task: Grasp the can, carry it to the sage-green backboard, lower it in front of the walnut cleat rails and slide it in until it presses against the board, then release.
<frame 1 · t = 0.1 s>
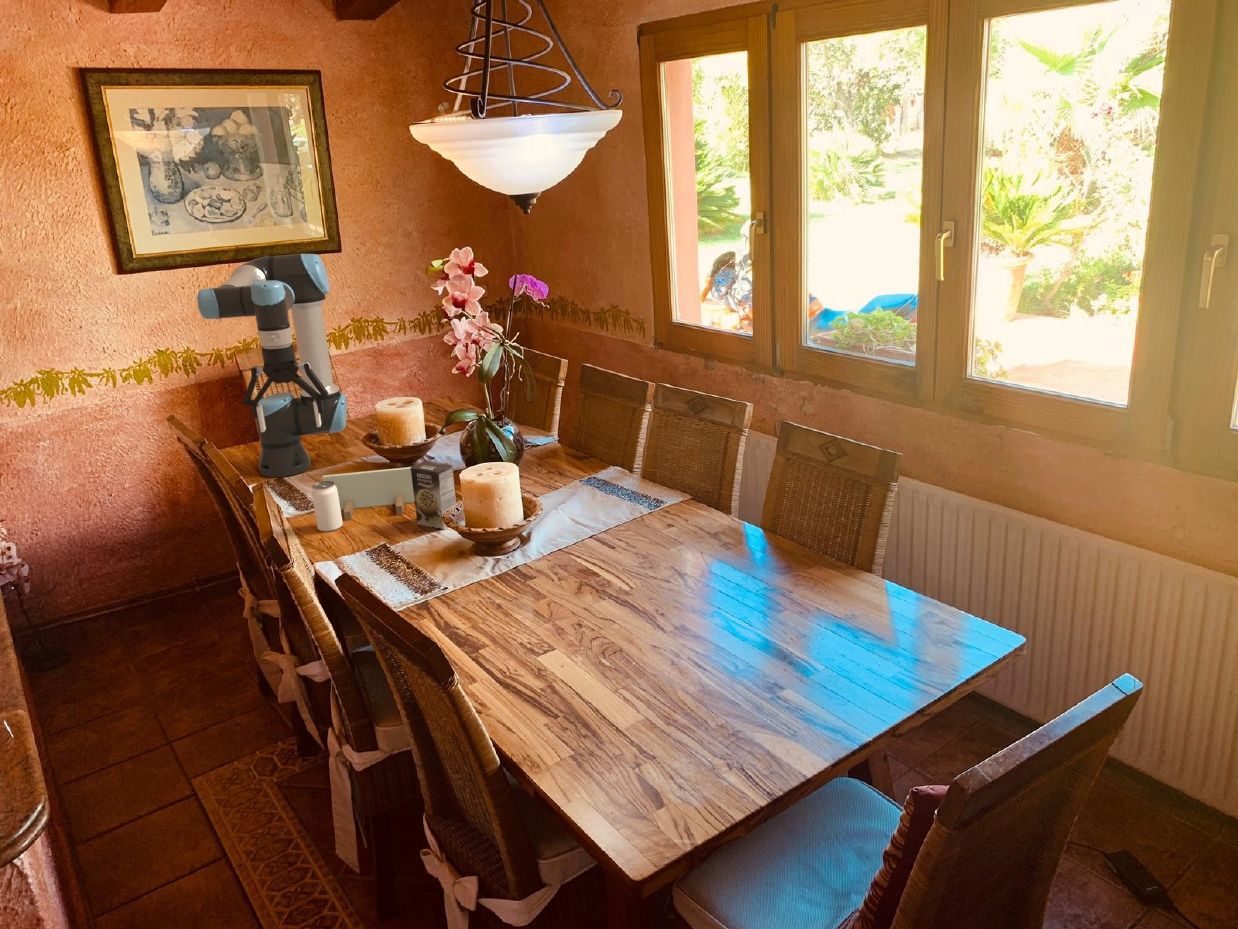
hand: (291, 428, 233), 28 cm above the table, fingers open, 13 cm apart
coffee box: (437, 523, 242), on the table
can: (330, 527, 243), on the table
wall board: (376, 505, 255), on the table
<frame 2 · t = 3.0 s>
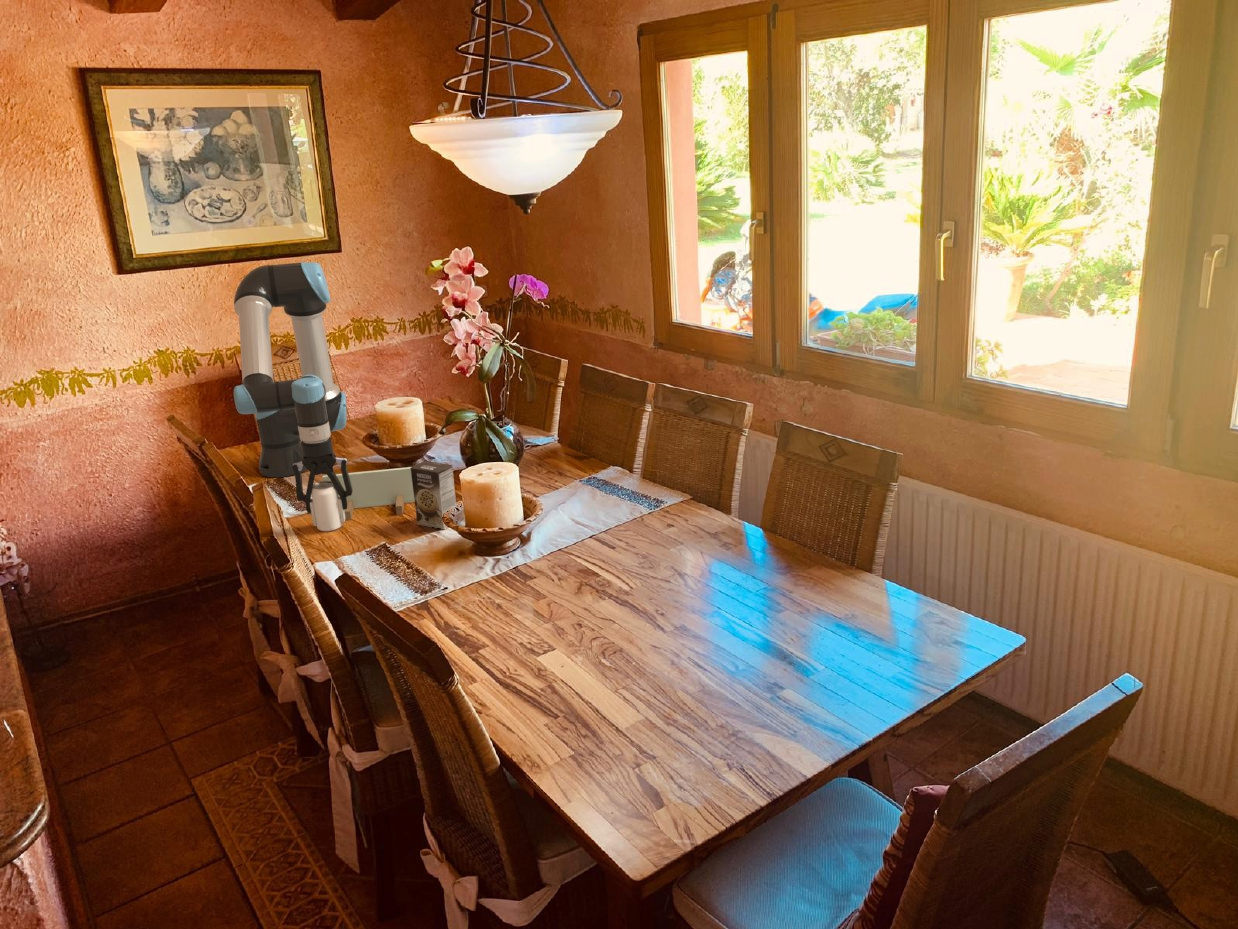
hand: (329, 521, 242), 1 cm above the table, fingers closed on can, 6 cm apart
can: (330, 527, 243), on the table, touching gripper
everything else where it was.
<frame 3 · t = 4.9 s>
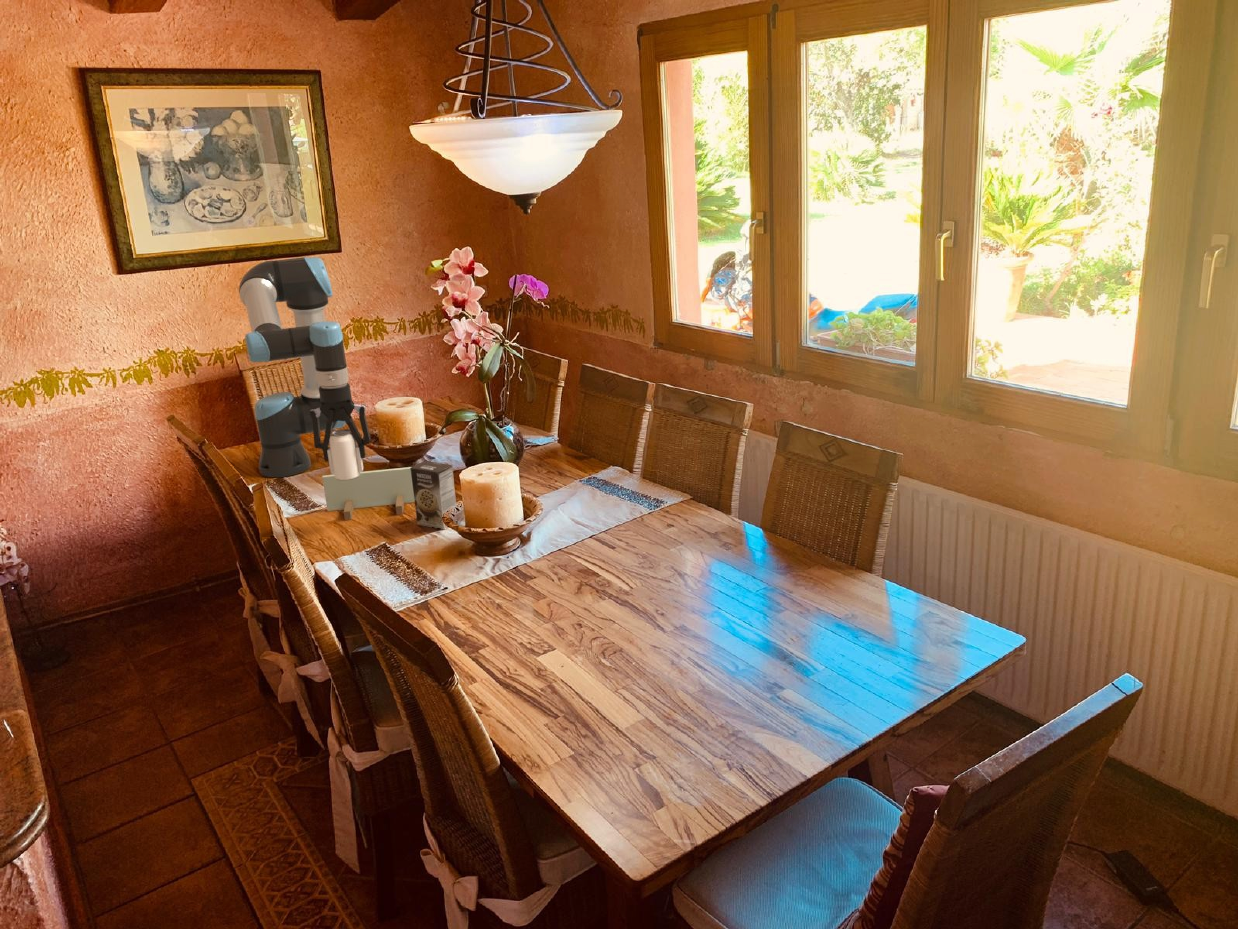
hand: (347, 471, 238), 15 cm above the table, fingers closed on can, 6 cm apart
can: (347, 477, 238), point 14 cm above the table, touching gripper
everything else where it was.
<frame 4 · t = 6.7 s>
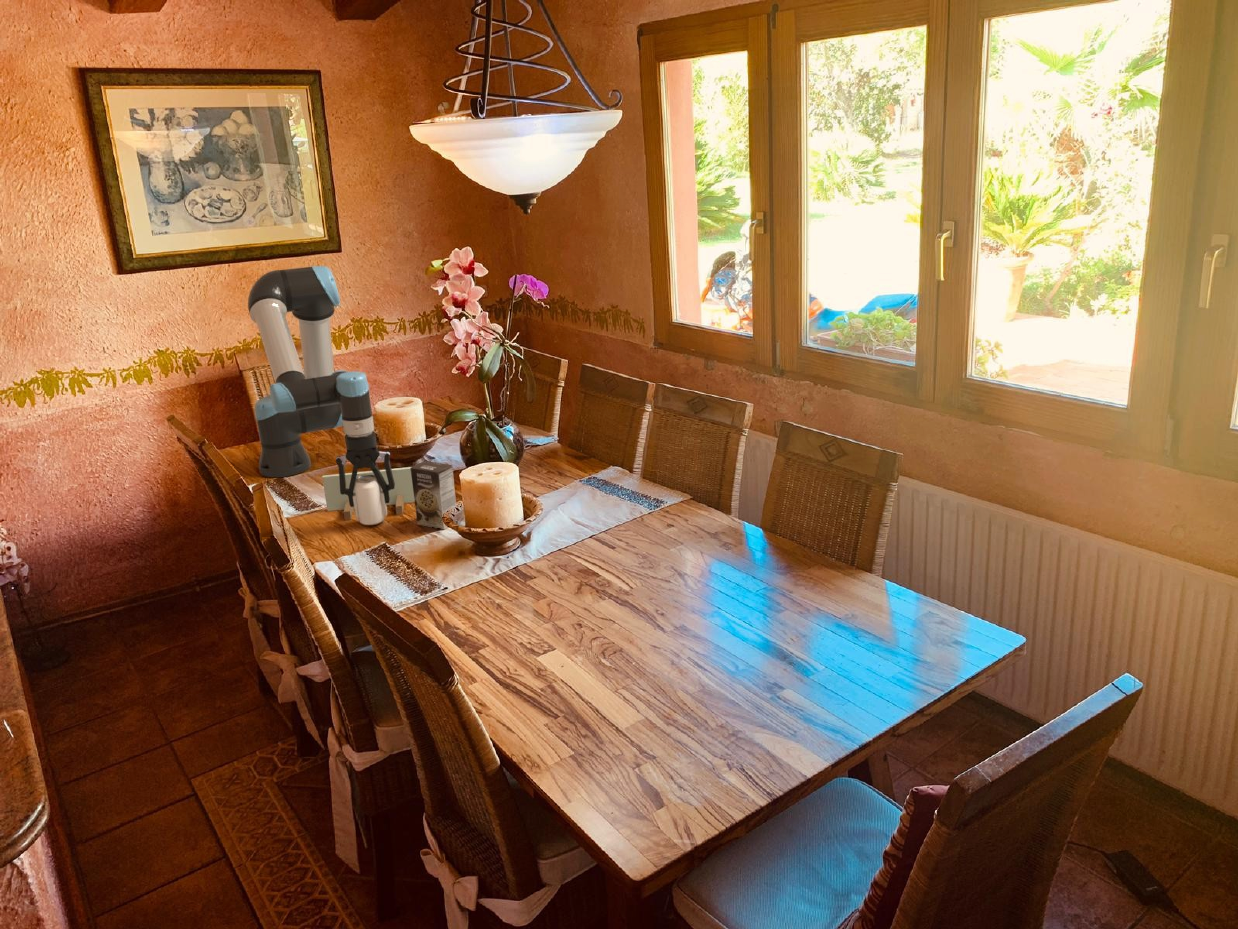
hand: (371, 515, 243), 2 cm above the table, fingers closed on can, 6 cm apart
can: (372, 521, 244), point 1 cm above the table, touching gripper
everything else where it was.
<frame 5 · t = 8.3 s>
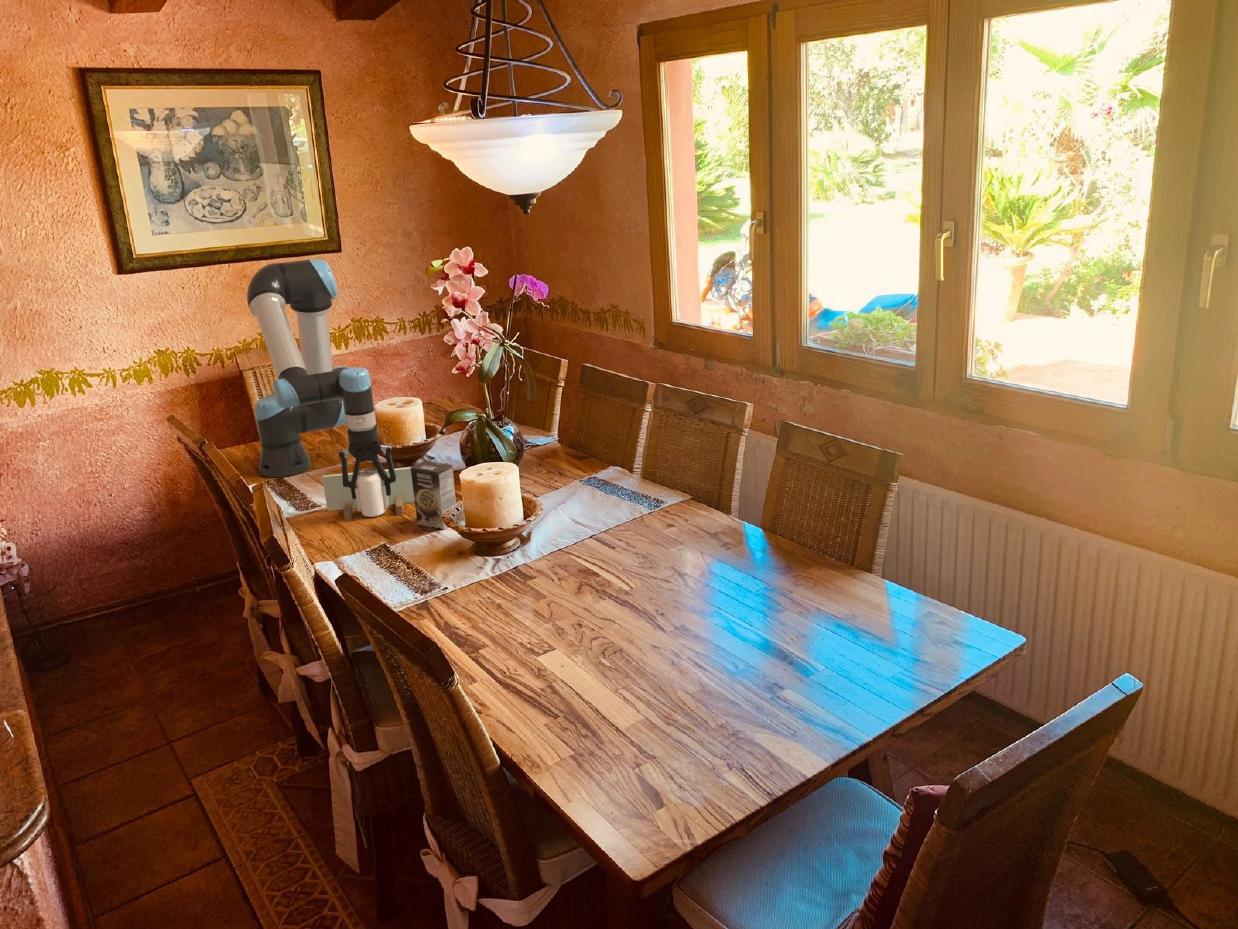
hand: (373, 507, 250), 2 cm above the table, fingers closed on can, 6 cm apart
can: (374, 513, 250), on the table, touching gripper
everything else where it was.
when the fingers open (2 cm above the table, at t = 10.0 s): can stays where it is, on the table.
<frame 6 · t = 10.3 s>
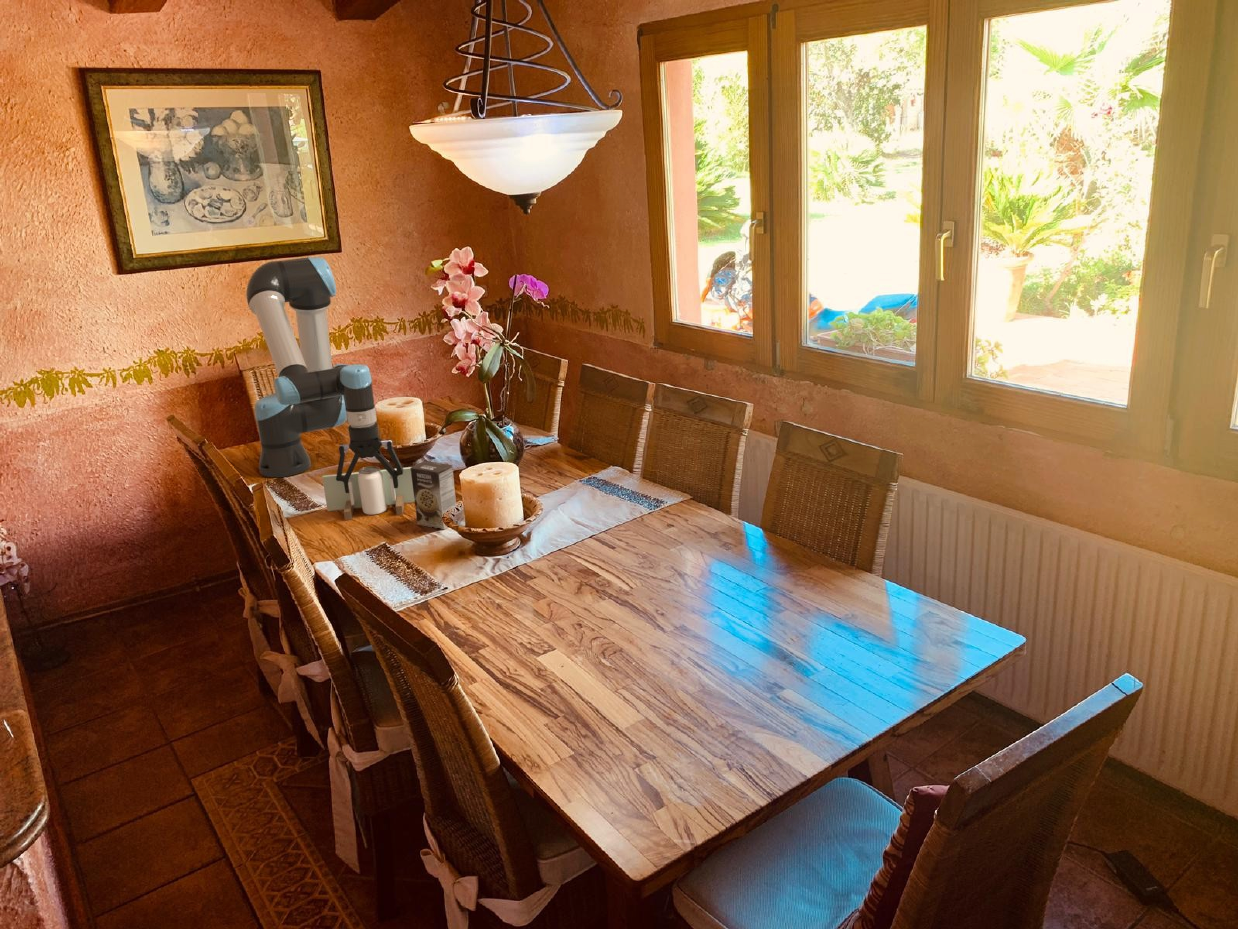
hand: (373, 501, 251), 3 cm above the table, fingers open, 10 cm apart
can: (375, 511, 252), on the table
everything else where it was.
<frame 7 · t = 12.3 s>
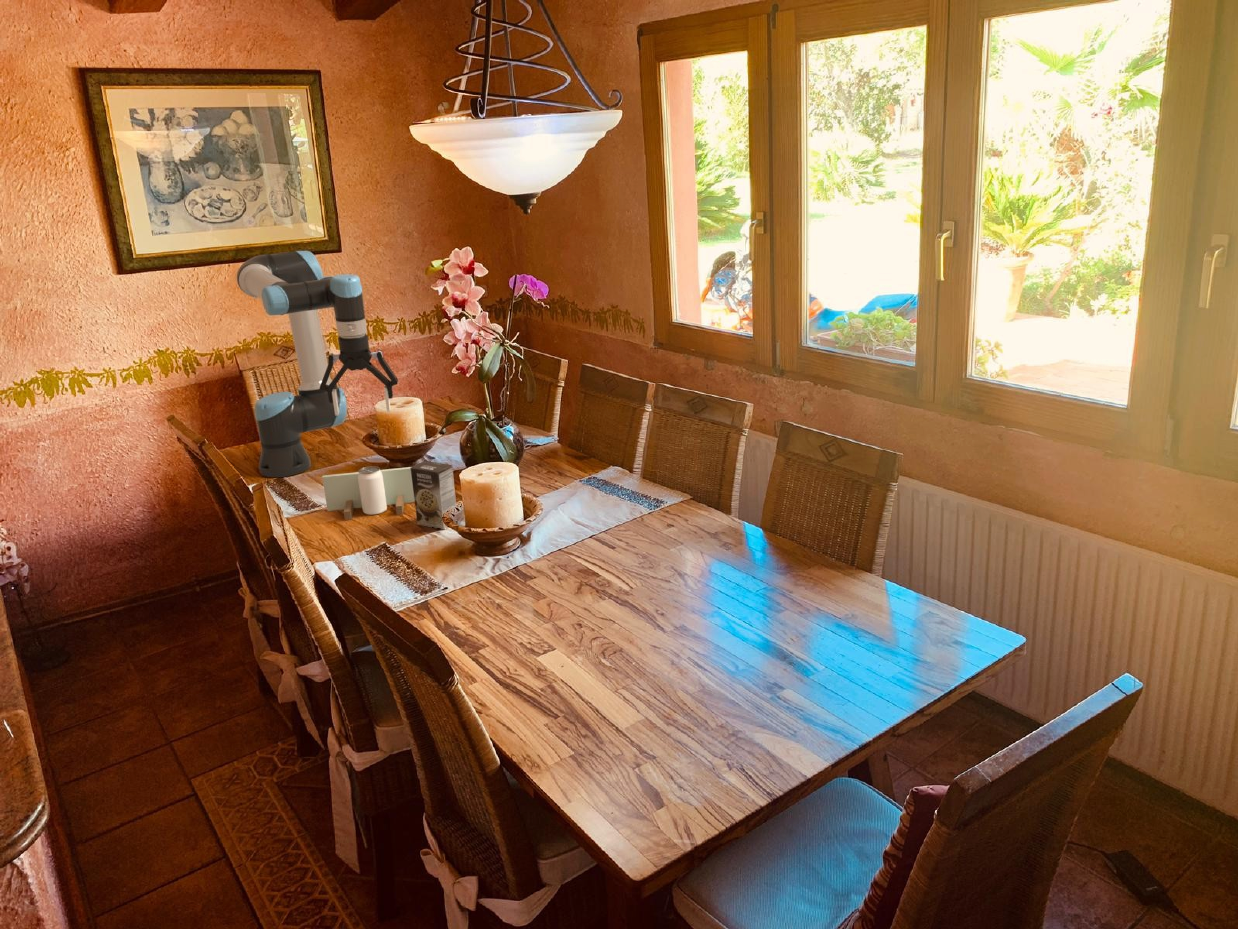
hand: (363, 411, 250), 26 cm above the table, fingers open, 13 cm apart
nothing on the table moved.
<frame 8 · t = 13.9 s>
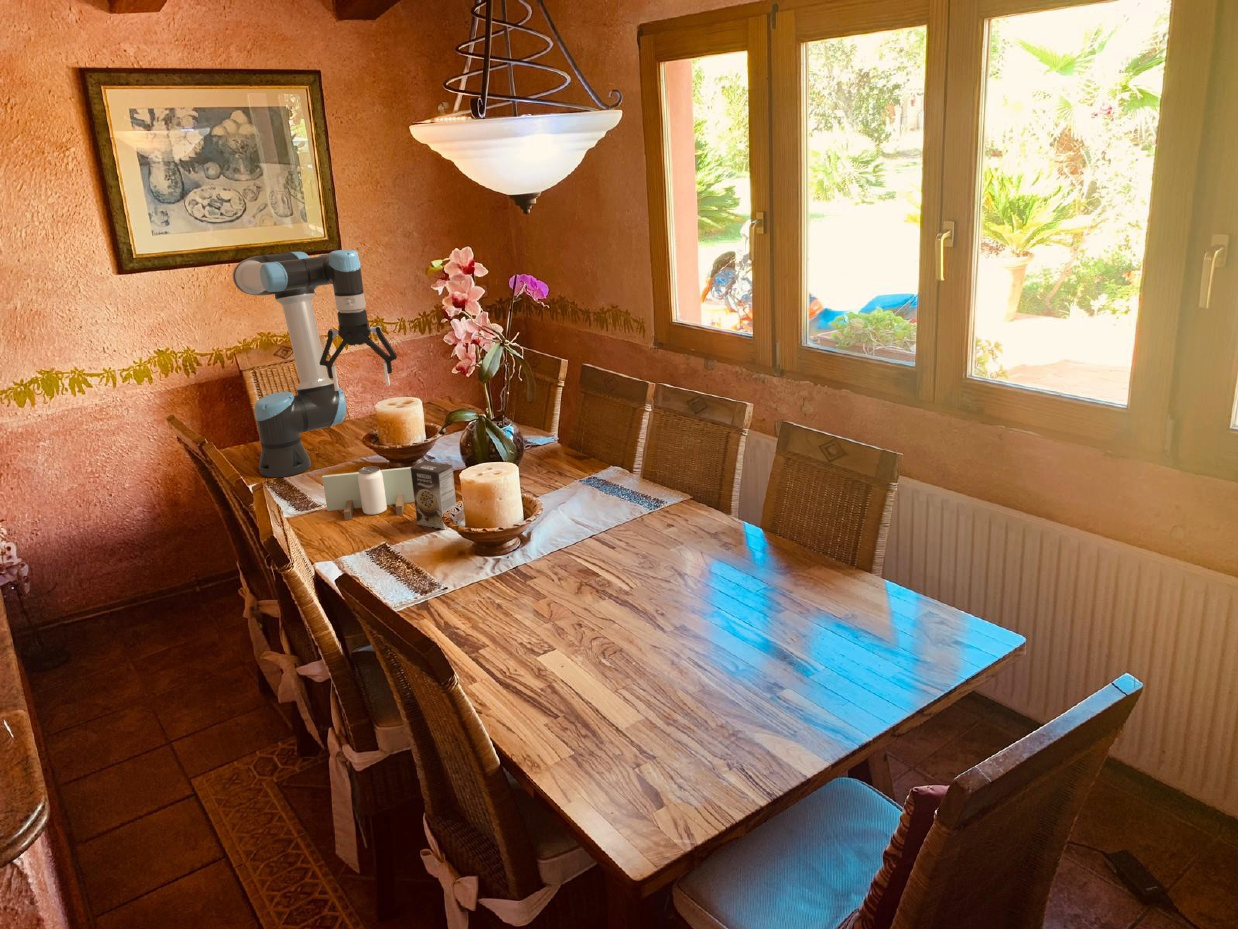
hand: (362, 387, 252), 32 cm above the table, fingers open, 13 cm apart
nothing on the table moved.
at the end: can 0.6 cm from the target spot on the wall board, point 0.0 cm above the wall board's base; can tilted 0°; the gripper is holding nothing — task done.
